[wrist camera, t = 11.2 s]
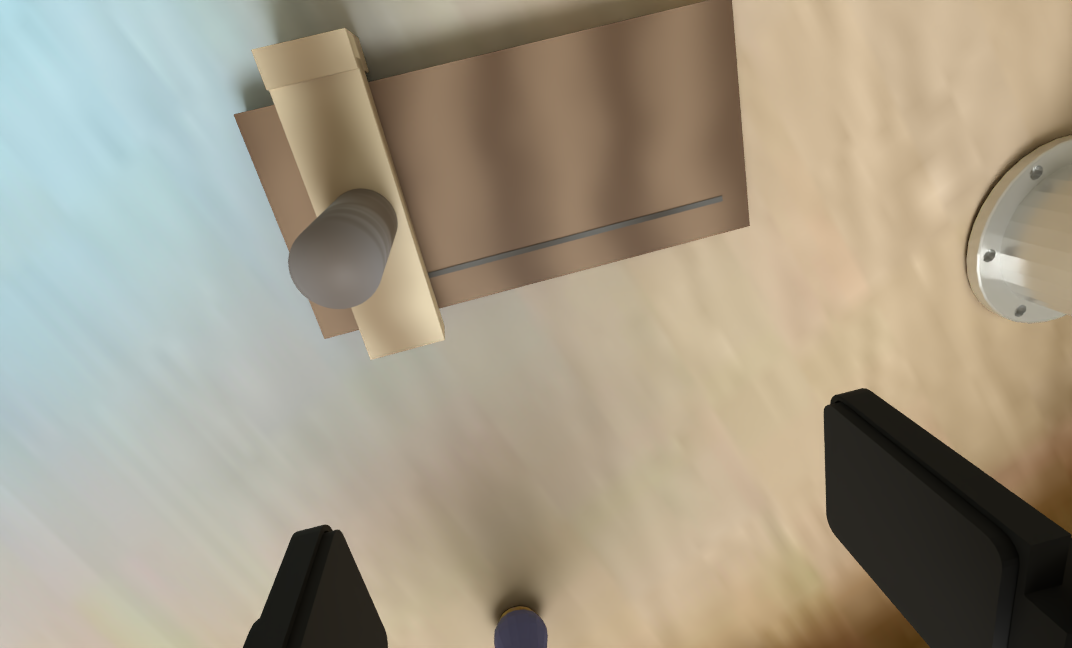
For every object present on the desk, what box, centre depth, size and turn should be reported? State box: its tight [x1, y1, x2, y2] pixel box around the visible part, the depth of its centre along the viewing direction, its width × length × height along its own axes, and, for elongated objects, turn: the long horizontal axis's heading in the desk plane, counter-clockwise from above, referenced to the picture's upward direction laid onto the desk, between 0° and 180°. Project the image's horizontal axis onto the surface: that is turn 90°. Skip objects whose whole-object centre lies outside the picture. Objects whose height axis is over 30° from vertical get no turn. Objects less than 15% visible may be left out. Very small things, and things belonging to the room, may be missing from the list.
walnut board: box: [234, 0, 750, 339], centre depth 31 cm, size 25×12×2 cm, turn 103°
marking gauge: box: [251, 28, 445, 360], centre depth 26 cm, size 4×15×12 cm, turn 13°
